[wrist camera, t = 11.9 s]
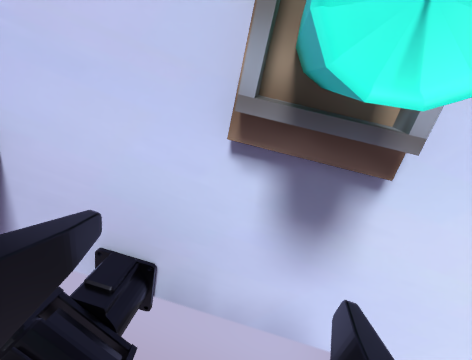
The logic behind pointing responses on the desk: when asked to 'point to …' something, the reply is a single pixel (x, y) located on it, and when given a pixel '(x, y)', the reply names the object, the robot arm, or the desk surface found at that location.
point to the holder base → (314, 105)
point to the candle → (389, 50)
